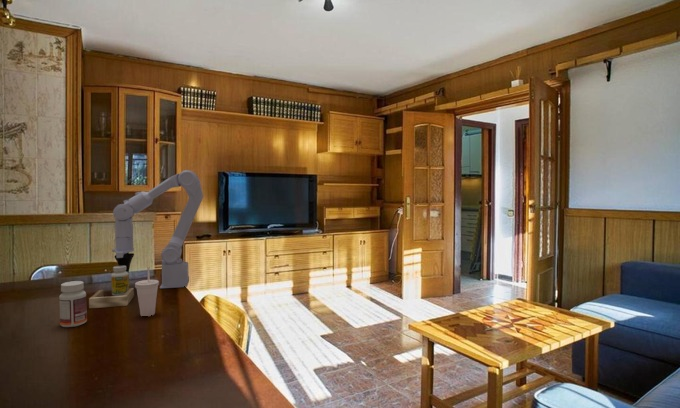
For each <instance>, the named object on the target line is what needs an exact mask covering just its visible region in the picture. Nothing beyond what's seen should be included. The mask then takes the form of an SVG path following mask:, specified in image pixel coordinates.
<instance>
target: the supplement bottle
mask: <svg viewBox="0 0 680 408" xmlns="http://www.w3.org/2000/svg"><path fill="white" fill-rule="evenodd" d="M112 271H113V272H112V273H111V276H110V277H111V278H110V280H111V281H110V282H111V296H123V295H124V294H125V293H126V292H127V291H128V290H129V289H130V272H129V273H128V272H126V266H119V265H116V266H113V267H112Z"/></svg>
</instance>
